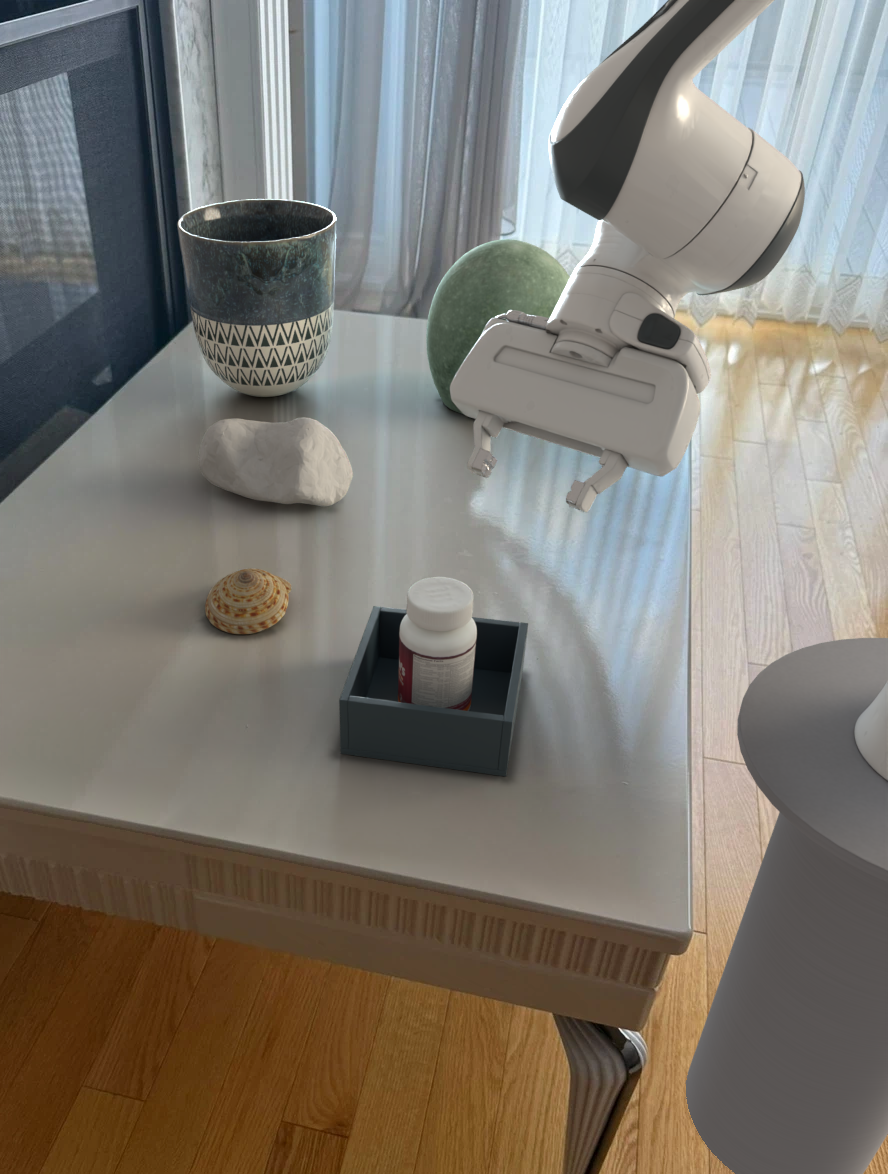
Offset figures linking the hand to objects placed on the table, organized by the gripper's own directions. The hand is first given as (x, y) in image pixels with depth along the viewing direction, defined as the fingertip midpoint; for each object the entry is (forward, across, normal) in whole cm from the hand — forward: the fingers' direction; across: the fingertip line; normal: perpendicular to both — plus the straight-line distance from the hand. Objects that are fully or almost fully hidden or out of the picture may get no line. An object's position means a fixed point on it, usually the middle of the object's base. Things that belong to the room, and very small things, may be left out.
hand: (524, 489), depth 83 cm
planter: (-9, -60, +32) cm, 69 cm away
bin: (+19, 0, +4) cm, 20 cm away
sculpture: (-21, -34, +44) cm, 60 cm away
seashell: (+18, -24, +5) cm, 30 cm away
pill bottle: (+19, 0, +4) cm, 19 cm away
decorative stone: (+6, -38, +18) cm, 43 cm away
